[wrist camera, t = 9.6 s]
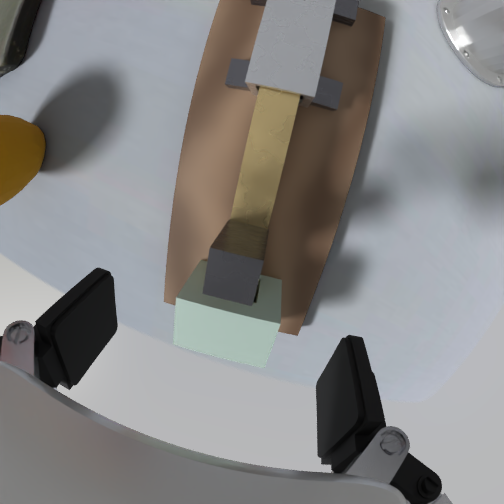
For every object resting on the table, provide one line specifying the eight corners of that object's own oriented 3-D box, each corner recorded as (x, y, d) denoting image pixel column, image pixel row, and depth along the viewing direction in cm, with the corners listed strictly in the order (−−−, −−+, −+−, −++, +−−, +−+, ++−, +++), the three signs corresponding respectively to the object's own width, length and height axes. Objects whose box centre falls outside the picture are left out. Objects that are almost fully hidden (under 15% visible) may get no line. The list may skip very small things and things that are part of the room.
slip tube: (307, 66, 17) (321, 26, 10) (250, 299, 26) (236, 363, 18) (269, 58, 17) (262, 14, 10) (219, 291, 26) (194, 352, 18)
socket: (281, 279, 26) (280, 323, 20) (269, 320, 28) (264, 368, 22) (200, 259, 26) (176, 297, 20) (194, 301, 28) (172, 344, 22)
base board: (380, 22, 17) (385, 17, 15) (297, 327, 30) (297, 335, 29) (229, -11, 17) (226, -18, 16) (168, 294, 30) (163, 301, 29)
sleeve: (355, 6, 15) (369, -20, 10) (332, 114, 20) (347, 107, 15) (257, -15, 15) (251, -45, 11) (227, 91, 20) (212, 77, 15)
